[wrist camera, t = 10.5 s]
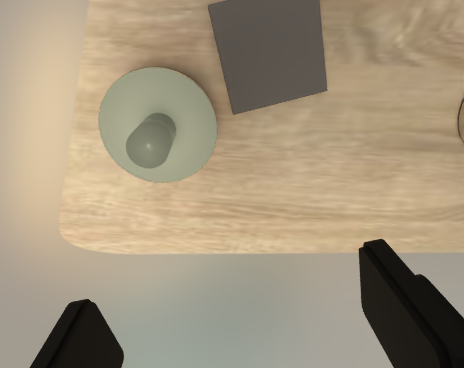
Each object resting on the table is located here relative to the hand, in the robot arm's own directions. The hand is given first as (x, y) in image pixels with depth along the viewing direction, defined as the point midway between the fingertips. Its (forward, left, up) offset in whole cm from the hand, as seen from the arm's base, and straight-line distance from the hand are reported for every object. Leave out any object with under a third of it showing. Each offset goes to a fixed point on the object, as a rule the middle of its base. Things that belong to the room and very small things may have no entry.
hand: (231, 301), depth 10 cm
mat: (-8, -6, -26) cm, 28 cm away
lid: (+5, -3, -21) cm, 22 cm away
